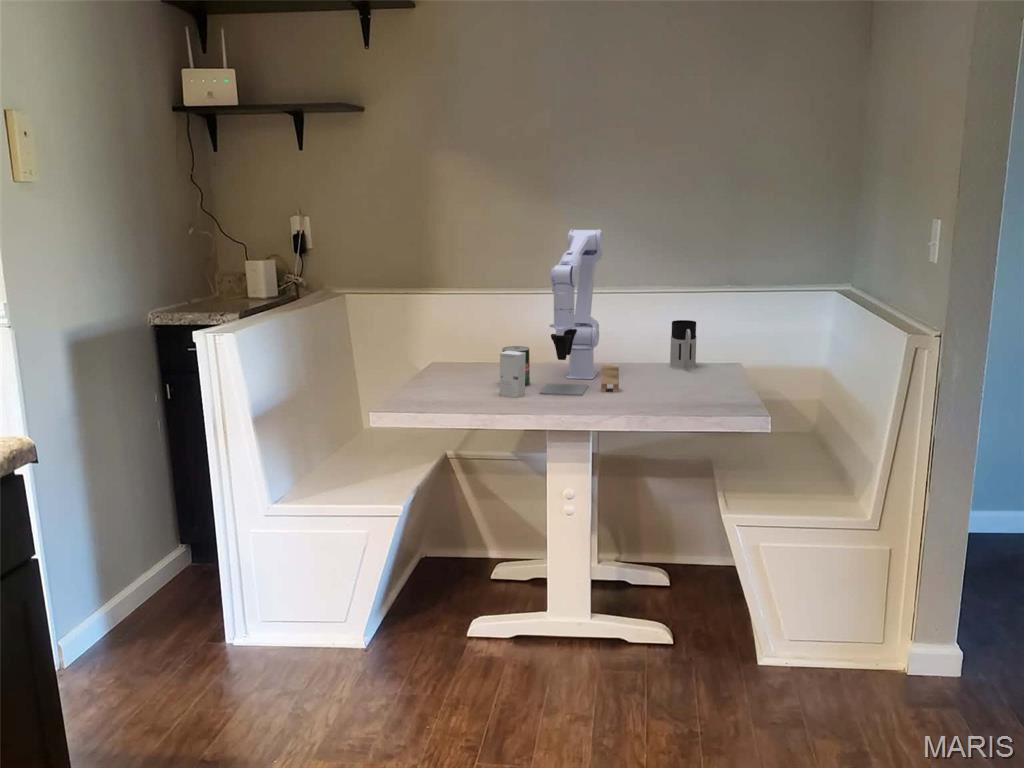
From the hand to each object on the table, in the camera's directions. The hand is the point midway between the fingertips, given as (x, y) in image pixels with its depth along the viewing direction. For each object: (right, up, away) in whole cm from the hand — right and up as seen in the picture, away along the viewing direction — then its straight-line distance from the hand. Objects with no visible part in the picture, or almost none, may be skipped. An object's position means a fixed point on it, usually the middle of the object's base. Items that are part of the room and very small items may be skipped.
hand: (564, 357), depth 238 cm
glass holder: (+39, -4, +28) cm, 48 cm away
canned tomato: (-13, -8, +10) cm, 19 cm away
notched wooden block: (+13, -9, +1) cm, 16 cm away
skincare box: (-14, -11, -3) cm, 18 cm away
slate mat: (0, -9, +2) cm, 10 cm away
